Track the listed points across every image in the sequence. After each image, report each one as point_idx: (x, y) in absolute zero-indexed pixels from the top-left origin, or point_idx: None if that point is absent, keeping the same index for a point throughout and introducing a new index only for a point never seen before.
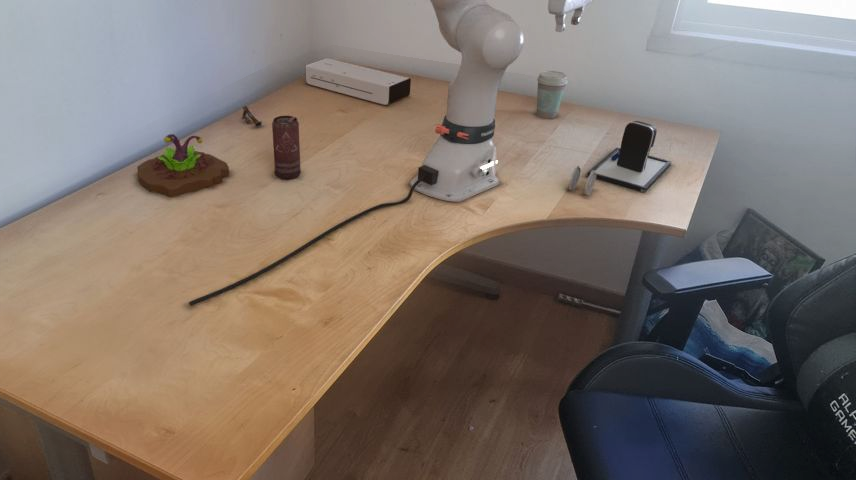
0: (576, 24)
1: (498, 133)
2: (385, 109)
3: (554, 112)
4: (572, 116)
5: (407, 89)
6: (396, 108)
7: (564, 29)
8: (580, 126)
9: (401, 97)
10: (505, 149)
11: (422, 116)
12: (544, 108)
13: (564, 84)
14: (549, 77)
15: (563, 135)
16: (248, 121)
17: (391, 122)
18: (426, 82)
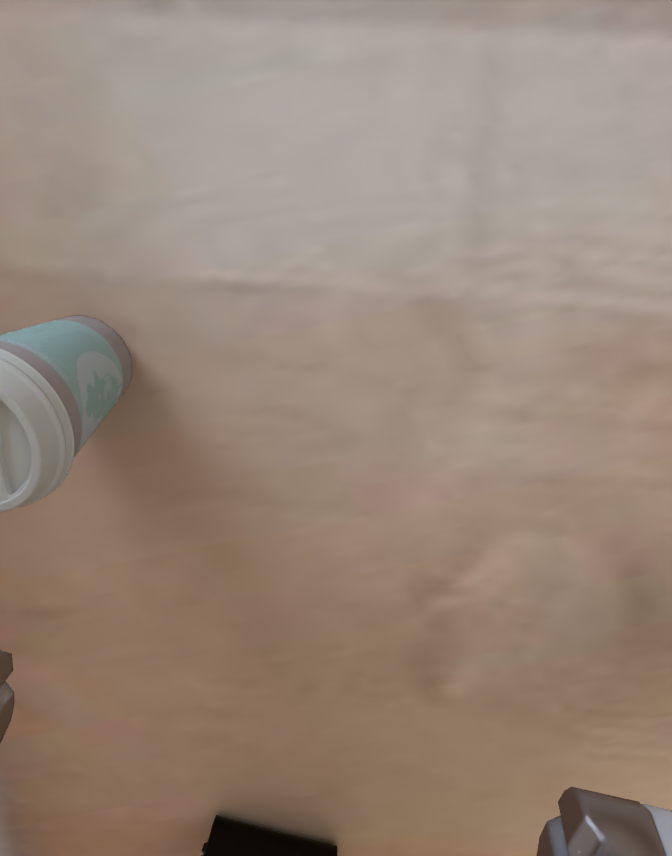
0: (2, 656)
1: (417, 496)
2: (365, 840)
3: (95, 330)
4: (26, 241)
5: (224, 844)
6: (338, 818)
7: (588, 806)
8: (135, 174)
9: (261, 832)
10: (592, 435)
11: (371, 746)
12: (117, 383)
13: (2, 352)
14: (34, 455)
15: (303, 231)
16: None
17: (474, 807)
18: (41, 793)
